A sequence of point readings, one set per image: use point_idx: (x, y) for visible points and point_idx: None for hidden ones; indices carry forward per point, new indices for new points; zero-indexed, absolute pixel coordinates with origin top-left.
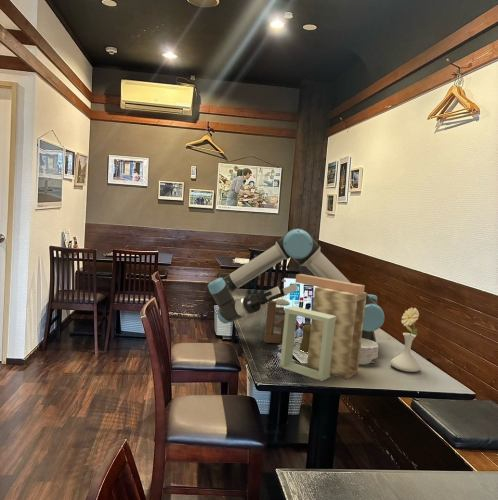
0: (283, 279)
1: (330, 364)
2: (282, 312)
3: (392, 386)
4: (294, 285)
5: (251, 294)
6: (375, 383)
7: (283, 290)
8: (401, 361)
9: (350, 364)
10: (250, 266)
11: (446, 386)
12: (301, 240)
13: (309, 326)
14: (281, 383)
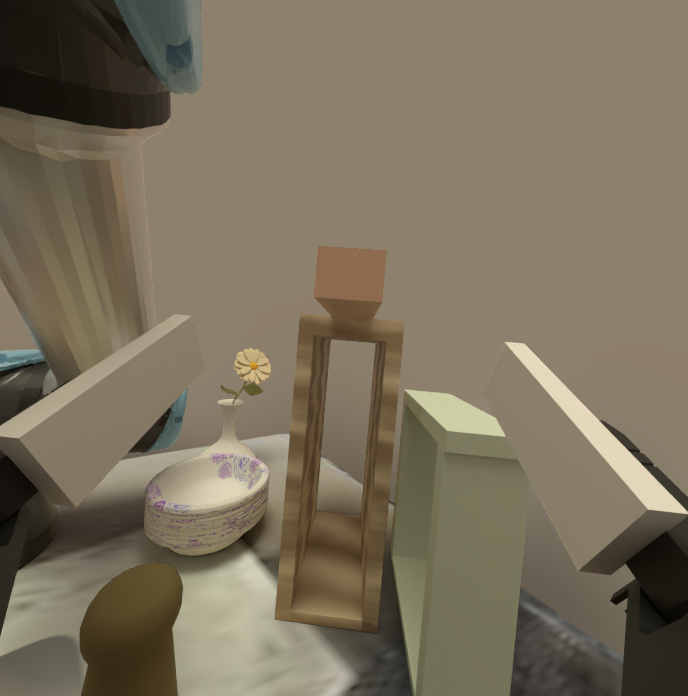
0: None
1: (393, 519)
2: None
3: (335, 475)
4: (186, 337)
5: None
6: (343, 490)
7: (45, 456)
8: (245, 453)
9: (314, 510)
10: None
11: (280, 442)
12: None
13: (167, 577)
14: (587, 641)
